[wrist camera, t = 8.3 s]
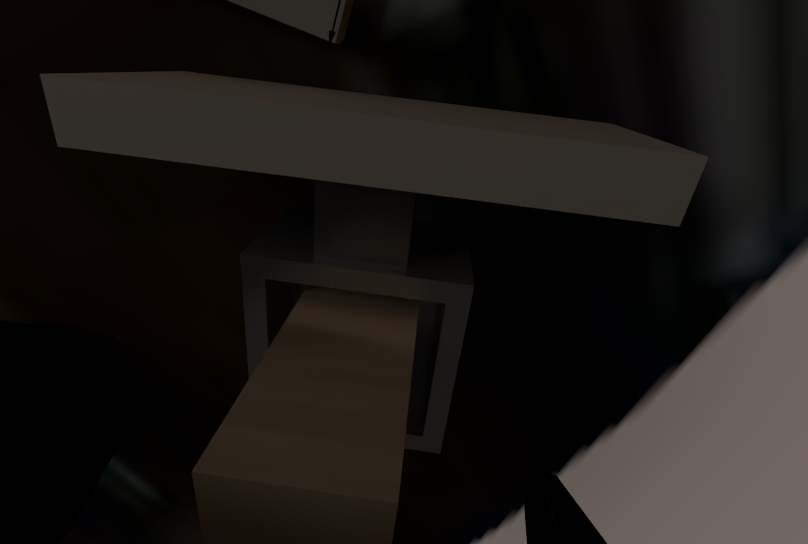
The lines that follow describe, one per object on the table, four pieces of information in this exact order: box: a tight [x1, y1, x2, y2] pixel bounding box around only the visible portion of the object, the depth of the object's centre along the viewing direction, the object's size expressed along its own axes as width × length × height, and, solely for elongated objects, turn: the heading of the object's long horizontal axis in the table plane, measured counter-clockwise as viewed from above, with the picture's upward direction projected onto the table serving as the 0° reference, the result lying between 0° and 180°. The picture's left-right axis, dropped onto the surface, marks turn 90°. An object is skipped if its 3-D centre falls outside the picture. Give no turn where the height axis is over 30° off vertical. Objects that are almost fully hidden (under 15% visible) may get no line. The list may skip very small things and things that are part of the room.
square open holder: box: [240, 180, 474, 453], centre depth 13 cm, size 8×6×4 cm
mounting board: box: [40, 71, 708, 227], centre depth 12 cm, size 2×14×6 cm, turn 84°
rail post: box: [192, 285, 420, 544], centre depth 11 cm, size 3×3×8 cm
